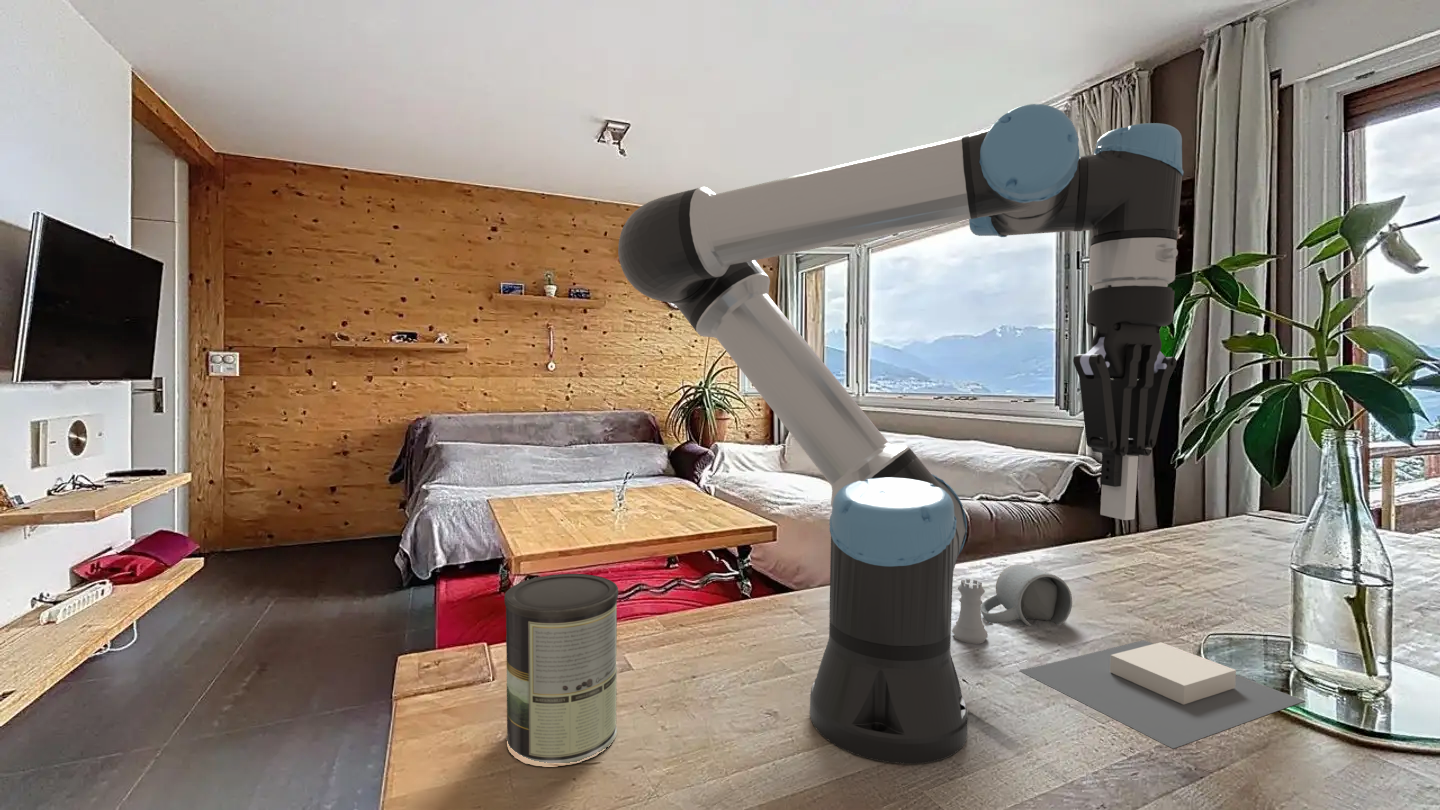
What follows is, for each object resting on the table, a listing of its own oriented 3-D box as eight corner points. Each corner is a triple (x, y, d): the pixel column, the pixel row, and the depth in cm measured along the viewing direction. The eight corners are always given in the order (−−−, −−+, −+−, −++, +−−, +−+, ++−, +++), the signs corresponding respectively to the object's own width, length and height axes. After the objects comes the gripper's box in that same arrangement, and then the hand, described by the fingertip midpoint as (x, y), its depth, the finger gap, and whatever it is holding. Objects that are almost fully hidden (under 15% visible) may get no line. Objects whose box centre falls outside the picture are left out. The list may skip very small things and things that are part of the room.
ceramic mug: (1038, 608, 99) (1039, 557, 98) (1073, 630, 90) (1074, 574, 90) (969, 611, 98) (970, 559, 97) (997, 634, 90) (998, 577, 89)
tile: (1184, 685, 69) (1236, 669, 72) (1110, 654, 76) (1161, 642, 80) (1183, 705, 69) (1234, 688, 73) (1109, 673, 76) (1160, 659, 80)
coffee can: (480, 753, 60) (479, 600, 60) (549, 701, 70) (549, 568, 69) (578, 780, 57) (578, 617, 56) (637, 721, 66) (637, 580, 65)
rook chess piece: (973, 653, 83) (975, 590, 82) (943, 641, 86) (945, 580, 86) (995, 645, 85) (997, 584, 85) (965, 634, 89) (967, 574, 88)
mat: (1172, 757, 61) (1173, 748, 61) (1019, 677, 76) (1019, 670, 76) (1304, 708, 70) (1304, 700, 70) (1143, 646, 86) (1143, 640, 85)
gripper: (1123, 278, 62) (1109, 530, 63) (1209, 288, 67) (1194, 520, 69) (1053, 286, 69) (1041, 513, 70) (1135, 294, 74) (1123, 505, 75)
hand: (1117, 516), depth 69 cm, fingers closed
